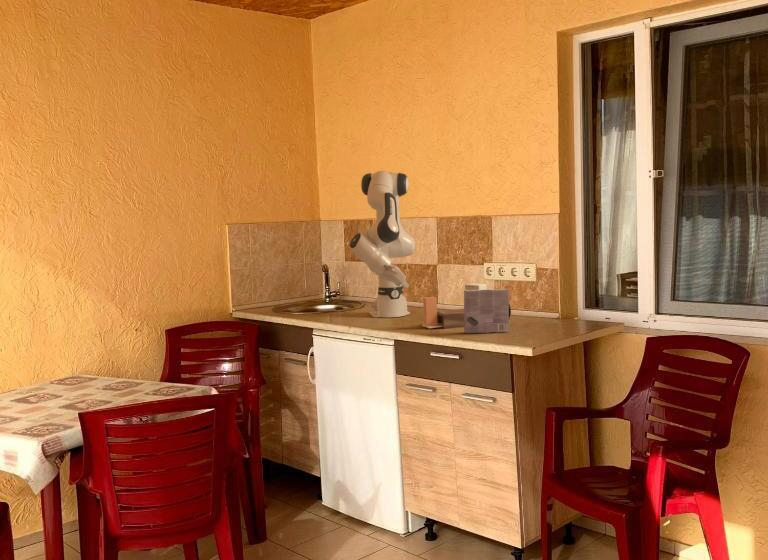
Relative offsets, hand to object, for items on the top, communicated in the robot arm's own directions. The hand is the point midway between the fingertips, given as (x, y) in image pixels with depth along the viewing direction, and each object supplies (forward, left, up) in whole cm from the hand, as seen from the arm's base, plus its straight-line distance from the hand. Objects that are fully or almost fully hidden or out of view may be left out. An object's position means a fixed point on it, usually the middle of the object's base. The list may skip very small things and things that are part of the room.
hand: (403, 286), depth 347 cm
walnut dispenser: (0, +24, -19) cm, 31 cm away
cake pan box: (+25, +26, -19) cm, 41 cm away
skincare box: (-15, +41, -19) cm, 48 cm away
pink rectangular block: (0, +20, -18) cm, 27 cm away
